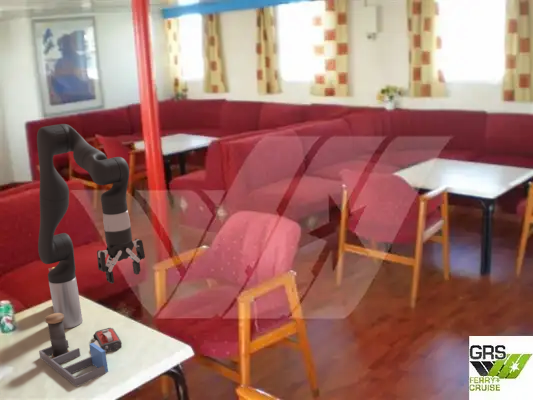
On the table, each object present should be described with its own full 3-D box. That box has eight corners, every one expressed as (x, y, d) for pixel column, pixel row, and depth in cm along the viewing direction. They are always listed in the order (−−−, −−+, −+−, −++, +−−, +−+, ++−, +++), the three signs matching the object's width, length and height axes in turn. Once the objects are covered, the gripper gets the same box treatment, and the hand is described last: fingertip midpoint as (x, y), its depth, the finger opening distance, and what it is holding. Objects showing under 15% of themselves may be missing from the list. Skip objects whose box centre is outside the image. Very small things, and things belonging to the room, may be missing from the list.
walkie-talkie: (88, 340, 214) (101, 366, 197) (86, 328, 213) (99, 353, 196) (113, 333, 218) (128, 358, 201) (111, 321, 217) (127, 345, 200)
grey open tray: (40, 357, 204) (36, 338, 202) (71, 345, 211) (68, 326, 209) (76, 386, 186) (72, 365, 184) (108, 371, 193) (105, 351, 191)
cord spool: (49, 356, 204) (42, 317, 200) (65, 350, 208) (58, 311, 204) (56, 362, 200) (49, 322, 196) (73, 355, 204) (66, 316, 200)
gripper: (131, 218, 190) (138, 268, 194) (88, 230, 181) (96, 282, 185) (145, 222, 185) (151, 274, 189) (101, 235, 175) (109, 289, 180)
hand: (124, 278), depth 187 cm, fingers open, 8 cm apart
